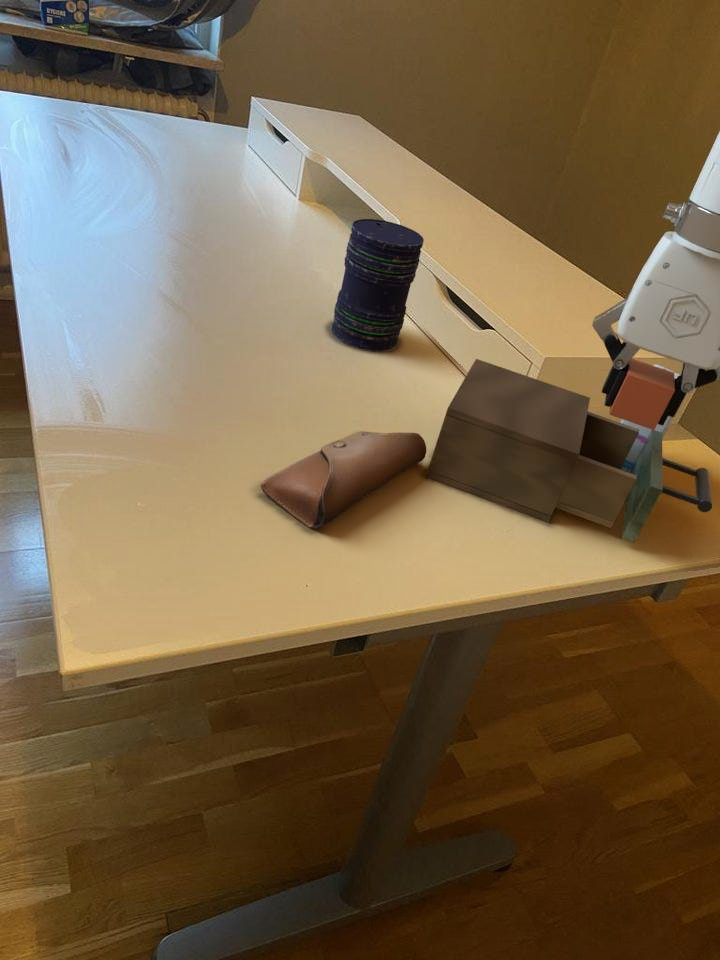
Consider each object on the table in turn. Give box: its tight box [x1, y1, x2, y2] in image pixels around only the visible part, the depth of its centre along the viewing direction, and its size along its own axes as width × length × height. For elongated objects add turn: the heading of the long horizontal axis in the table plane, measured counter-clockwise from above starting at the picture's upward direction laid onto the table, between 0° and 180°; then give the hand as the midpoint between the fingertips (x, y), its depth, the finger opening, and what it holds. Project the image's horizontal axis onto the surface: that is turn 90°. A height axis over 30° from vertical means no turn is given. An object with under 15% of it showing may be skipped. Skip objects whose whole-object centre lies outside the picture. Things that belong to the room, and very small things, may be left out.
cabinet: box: [425, 358, 591, 523], centre depth 81 cm, size 14×14×9 cm
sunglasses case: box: [260, 431, 427, 529], centre depth 74 cm, size 18×7×7 cm, turn 144°
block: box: [608, 358, 675, 430], centre depth 74 cm, size 5×5×5 cm
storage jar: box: [331, 218, 425, 352], centre depth 101 cm, size 10×10×15 cm
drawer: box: [555, 411, 713, 544], centre depth 79 cm, size 18×13×7 cm
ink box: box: [620, 364, 685, 473], centre depth 87 cm, size 9×5×12 cm, turn 148°
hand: (634, 408), depth 75 cm, fingers closed on block, 4 cm apart
